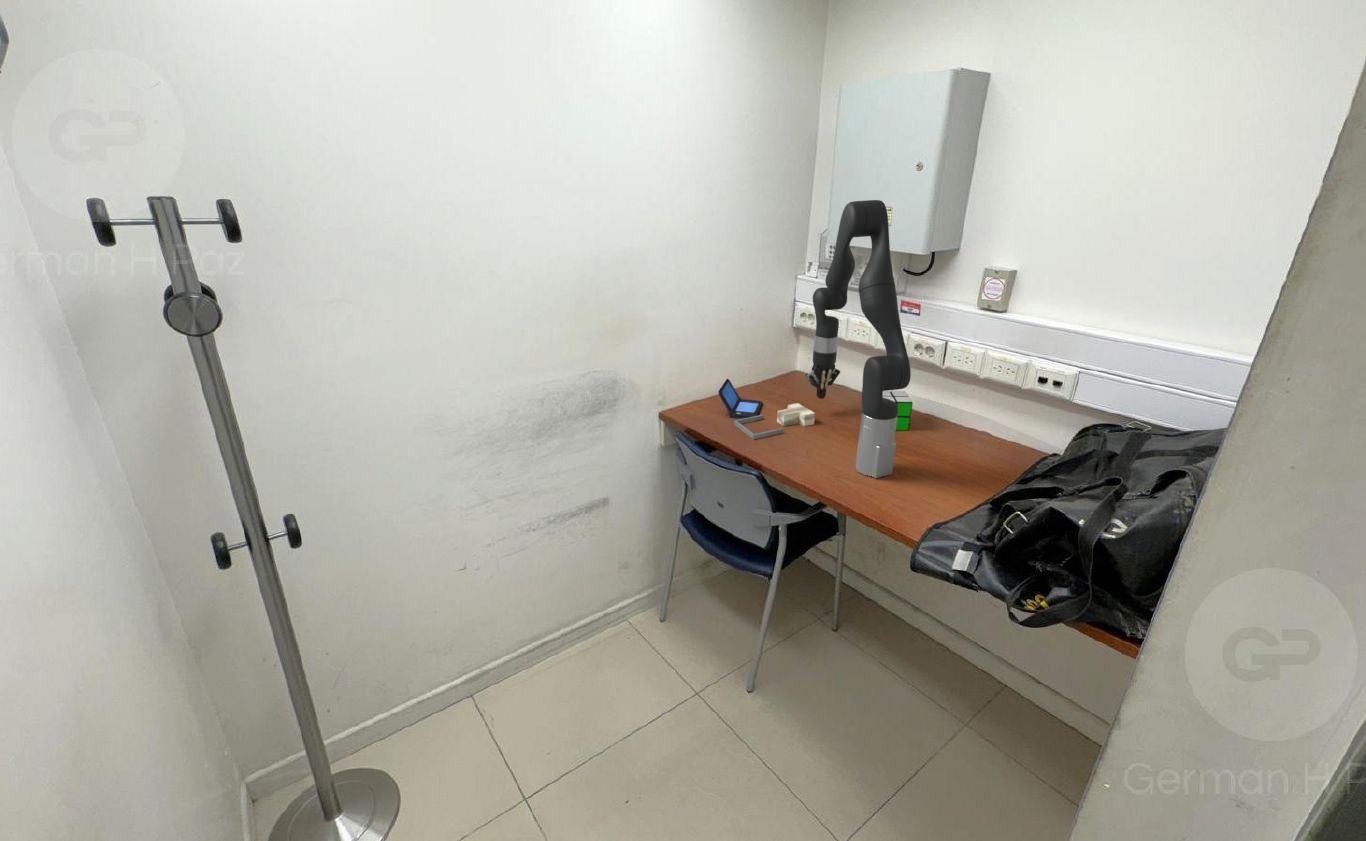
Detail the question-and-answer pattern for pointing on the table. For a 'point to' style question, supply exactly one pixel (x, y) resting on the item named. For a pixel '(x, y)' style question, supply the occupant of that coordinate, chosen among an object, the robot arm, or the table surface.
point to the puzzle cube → (901, 408)
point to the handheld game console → (738, 402)
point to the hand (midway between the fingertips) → (820, 397)
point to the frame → (749, 433)
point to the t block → (795, 415)
